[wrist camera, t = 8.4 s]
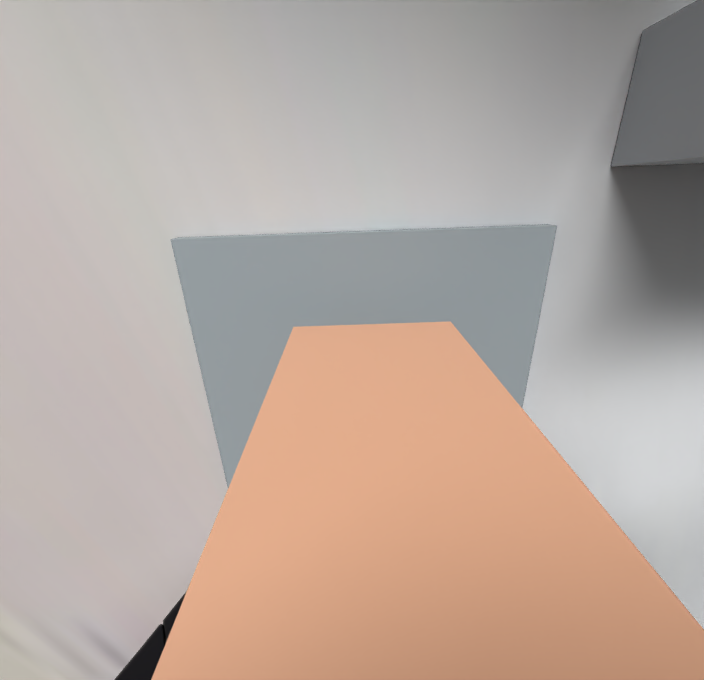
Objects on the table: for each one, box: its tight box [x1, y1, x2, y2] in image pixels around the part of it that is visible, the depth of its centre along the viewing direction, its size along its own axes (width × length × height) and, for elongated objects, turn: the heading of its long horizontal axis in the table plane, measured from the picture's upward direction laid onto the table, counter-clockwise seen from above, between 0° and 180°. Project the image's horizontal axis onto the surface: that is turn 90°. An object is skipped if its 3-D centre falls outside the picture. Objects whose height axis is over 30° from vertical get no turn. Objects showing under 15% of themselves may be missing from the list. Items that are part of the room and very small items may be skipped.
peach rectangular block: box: [151, 321, 704, 680], centre depth 6 cm, size 4×7×8 cm, turn 2°
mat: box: [171, 224, 557, 488], centre depth 12 cm, size 11×11×1 cm
